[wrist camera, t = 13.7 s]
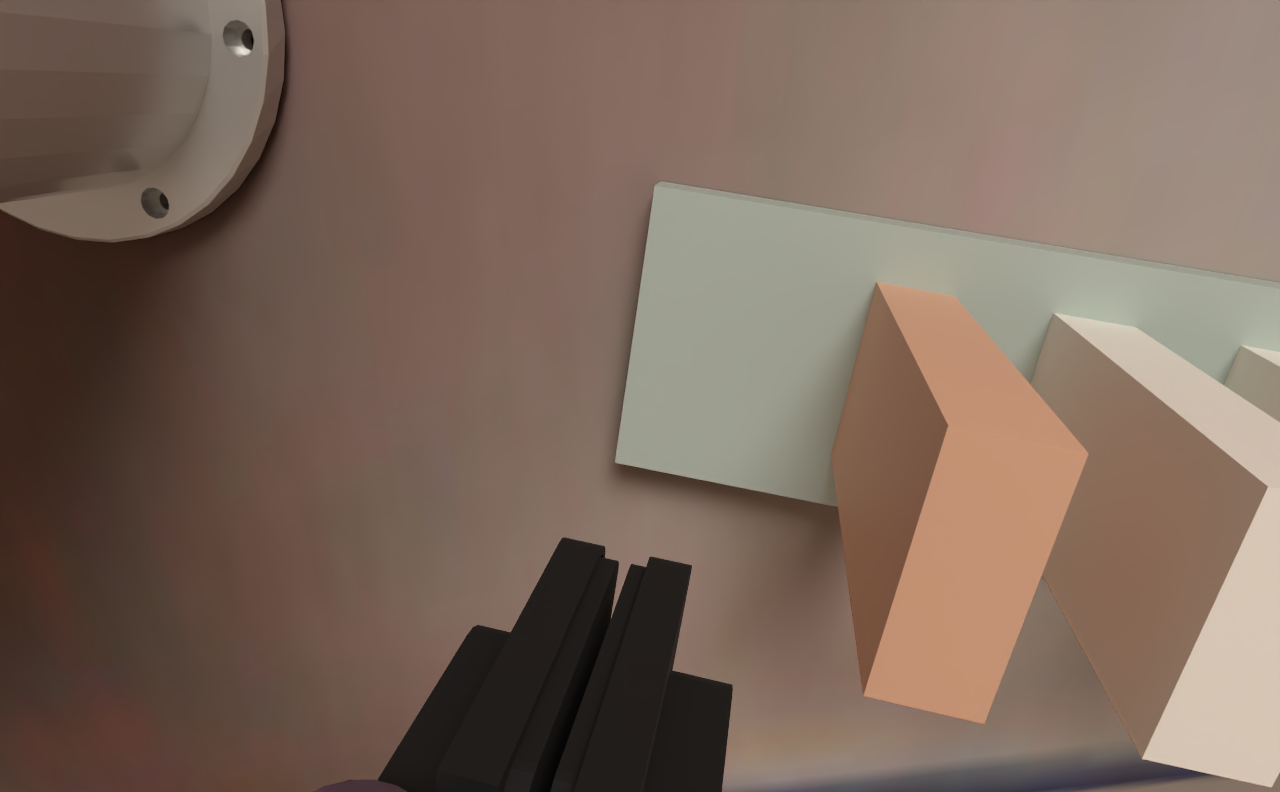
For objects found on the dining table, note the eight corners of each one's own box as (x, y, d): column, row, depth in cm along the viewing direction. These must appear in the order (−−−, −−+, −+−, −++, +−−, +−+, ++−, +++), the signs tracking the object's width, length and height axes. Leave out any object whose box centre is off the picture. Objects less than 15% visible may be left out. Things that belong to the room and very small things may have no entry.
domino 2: (995, 488, 23) (1141, 758, 14) (1053, 313, 21) (1267, 486, 12) (1070, 502, 23) (1271, 787, 13) (1135, 327, 21) (1420, 515, 12)
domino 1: (830, 455, 23) (863, 695, 14) (876, 281, 21) (948, 425, 12) (902, 470, 23) (983, 724, 14) (955, 296, 21) (1088, 453, 12)
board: (622, 446, 26) (614, 462, 24) (660, 181, 23) (654, 185, 22) (1583, 636, 23) (1624, 663, 22) (1765, 362, 20) (1823, 378, 19)
